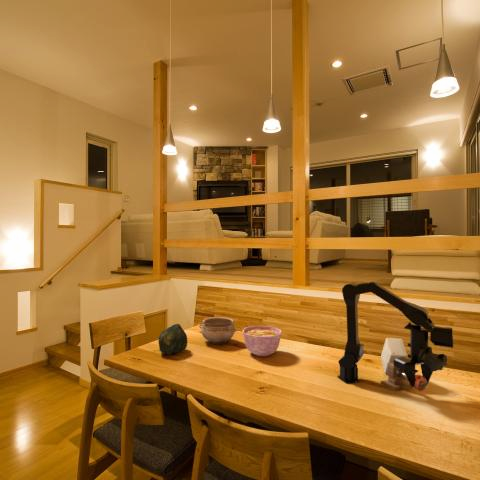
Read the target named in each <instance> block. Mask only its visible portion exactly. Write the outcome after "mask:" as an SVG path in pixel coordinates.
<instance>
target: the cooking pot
mask: <svg viewBox="0 0 480 480" xmlns="http://www.w3.org/2000/svg"><path fill="white" fill-rule="evenodd" d="M234 322H235V321H234V319H233V318H230V317H226V316H212V317H207V318H204V319H203V320H202V323H199V324H198V327H199V329H200V330H201V335H202V337H203V338H204V339H205V340H207V341H208V342H210V343H212V344H213V343H214V345H221V343H222V344H224V343H226V342H227V341H229V340H231V339H232V338H233V337H234V335H235V334H236V332H238V331H239V328H235V325H234Z"/></svg>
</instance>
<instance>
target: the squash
mask: <svg viewBox="0 0 480 480" xmlns="http://www.w3.org/2000/svg"><path fill="white" fill-rule="evenodd" d="M157 343H158V348H159V351H160V352H161V353H162V354H164V355H172V354H177V353H182V352H184V351H185V350H186V348H187V347H188V335H187V334H186V332H185V330H184V329H183V327H182V326H181V324H180V323H175V324H173V325H171V326H169V327H167V328H166V329H164V330H162V331H161V332H160V334H159V337H158V342H157Z"/></svg>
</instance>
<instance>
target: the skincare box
mask: <svg viewBox="0 0 480 480" xmlns="http://www.w3.org/2000/svg"><path fill="white" fill-rule="evenodd" d="M400 357H404V358H406V359H408V353H407V350H406V346H405V343H404V340H403V338H395V337H386V338H385V341H384V344H383V347H382V352H381V354H380V359H381V363H382V364H381V365H382V368H383V371H384V374H385V375H386V374H387V363H392V362H394V359H395V358H400Z"/></svg>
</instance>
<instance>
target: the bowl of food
mask: <svg viewBox="0 0 480 480" xmlns="http://www.w3.org/2000/svg"><path fill="white" fill-rule="evenodd" d="M242 334H243V339H244V344H245V346H246V347H245V348H246V349H247V350H248V352H250V353H251V354H253V355H255V356H256V357H269V356H270V355H272V354H274V353H275V352H276V351H277V350H278V348H279V346H280V341H281V338H282V330H281V329H280V328H278V327H274V326H268V325H252V326H248V327H244V328H243V329H242Z"/></svg>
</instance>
